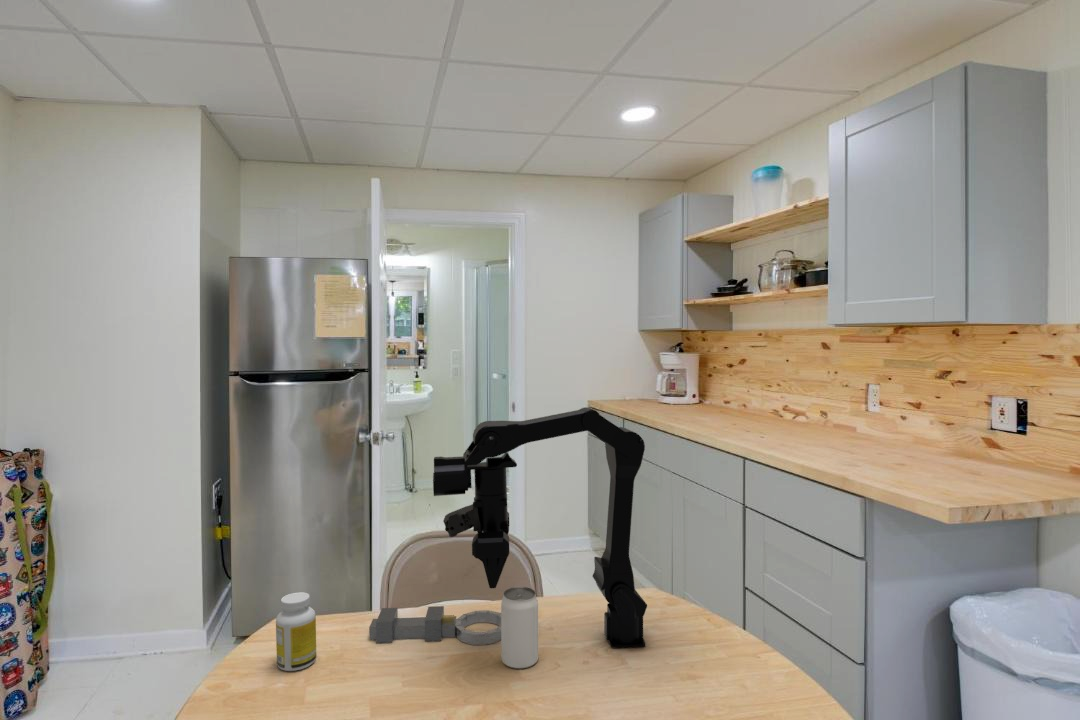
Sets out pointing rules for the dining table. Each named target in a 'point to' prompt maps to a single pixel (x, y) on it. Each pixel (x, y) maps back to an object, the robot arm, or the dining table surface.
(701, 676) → the dining table surface
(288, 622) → the pill bottle
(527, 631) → the can
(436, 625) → the shaft seat
